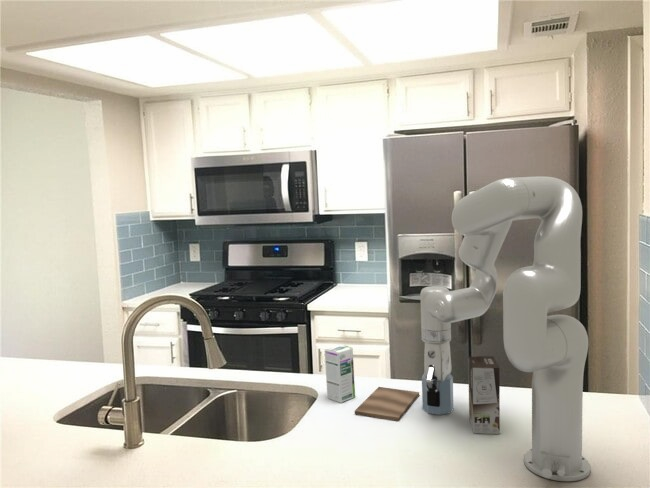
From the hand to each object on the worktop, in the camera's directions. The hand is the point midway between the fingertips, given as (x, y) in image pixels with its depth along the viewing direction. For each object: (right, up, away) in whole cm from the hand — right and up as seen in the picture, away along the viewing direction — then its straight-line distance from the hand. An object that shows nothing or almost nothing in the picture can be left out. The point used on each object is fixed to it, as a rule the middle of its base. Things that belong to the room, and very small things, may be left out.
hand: (437, 399), depth 144 cm
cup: (0, -2, 0) cm, 2 cm away
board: (-12, -3, +4) cm, 13 cm away
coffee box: (+9, -3, -11) cm, 14 cm away
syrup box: (-25, -3, +10) cm, 27 cm away
